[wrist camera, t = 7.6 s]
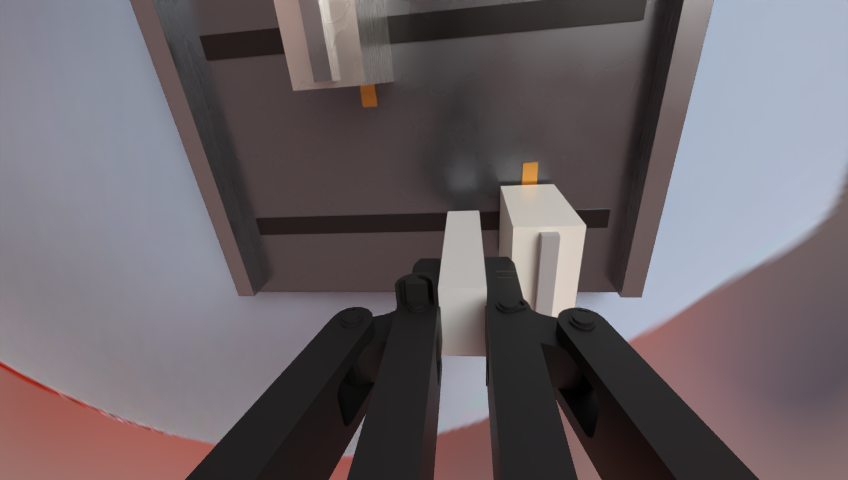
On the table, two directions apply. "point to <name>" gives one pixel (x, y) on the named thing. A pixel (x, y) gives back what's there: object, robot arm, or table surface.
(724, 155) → the table surface
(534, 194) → the fader tab
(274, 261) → the console
